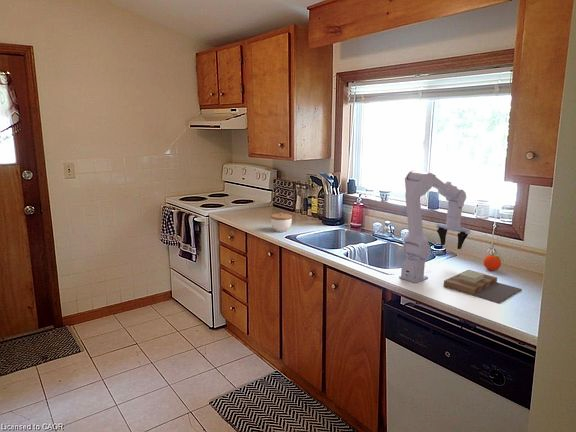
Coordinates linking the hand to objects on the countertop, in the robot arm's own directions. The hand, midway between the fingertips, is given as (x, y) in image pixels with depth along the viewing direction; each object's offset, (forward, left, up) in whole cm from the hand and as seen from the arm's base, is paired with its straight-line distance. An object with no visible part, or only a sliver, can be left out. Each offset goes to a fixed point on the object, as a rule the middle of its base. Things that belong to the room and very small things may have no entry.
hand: (451, 246), depth 187 cm
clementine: (+13, -14, -10) cm, 21 cm away
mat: (-12, -26, -10) cm, 31 cm away
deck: (-12, -16, -10) cm, 22 cm away
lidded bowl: (-12, +100, -10) cm, 102 cm away
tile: (-12, -16, -8) cm, 21 cm away
